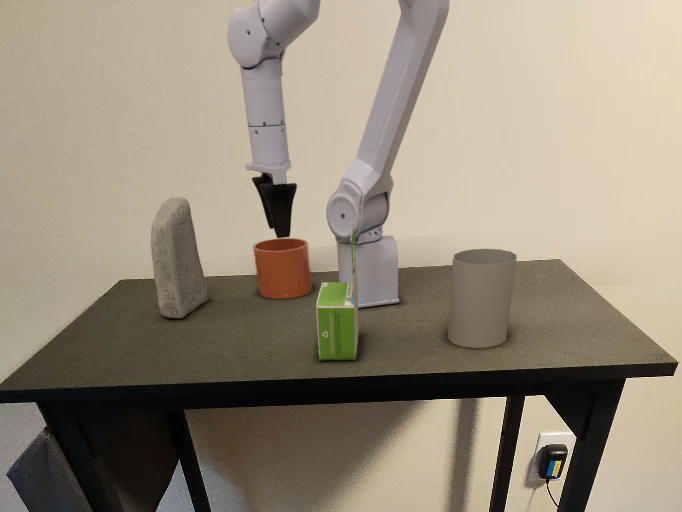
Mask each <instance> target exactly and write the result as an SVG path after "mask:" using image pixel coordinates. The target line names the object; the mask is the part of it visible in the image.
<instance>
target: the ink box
mask: <svg viewBox="0 0 682 512" xmlns="http://www.w3.org/2000/svg"><path fill="white" fill-rule="evenodd" d="M350 241H351V257H352V278H353V282H339V281H336V282H335V281H329V282H328V281H327V282H325V281H323V282H321V285H320V289H319V292H318V295H317V299H316V305H315V311H316V312H315V313H316V329H317V330H316V331H317V345H318V359H319V362H323V361H356V360H357V355H358V347H359V346H358V345H359V336H360V323H359V322H360V319H359V308H358V288H357V268H356V254H355V239H354V224H353V226H352V232H351V240H350ZM353 245H354V254H353Z"/></svg>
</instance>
